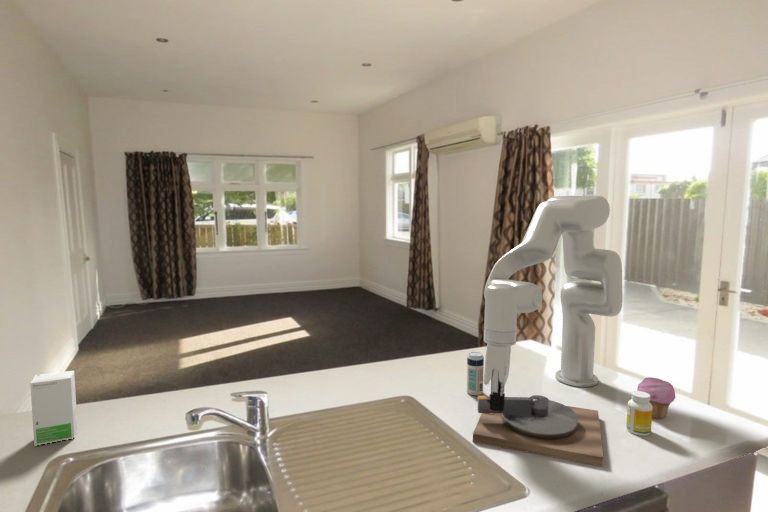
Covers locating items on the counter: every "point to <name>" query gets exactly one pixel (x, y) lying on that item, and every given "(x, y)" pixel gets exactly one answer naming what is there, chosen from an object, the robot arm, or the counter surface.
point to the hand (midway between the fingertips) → (496, 409)
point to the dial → (534, 416)
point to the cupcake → (658, 395)
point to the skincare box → (53, 407)
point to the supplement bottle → (639, 414)
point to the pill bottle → (475, 373)
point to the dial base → (574, 447)
